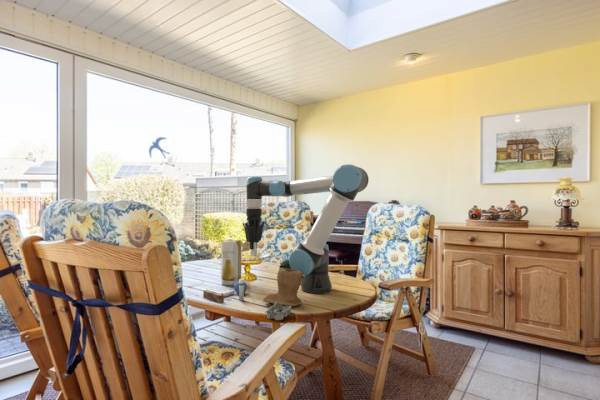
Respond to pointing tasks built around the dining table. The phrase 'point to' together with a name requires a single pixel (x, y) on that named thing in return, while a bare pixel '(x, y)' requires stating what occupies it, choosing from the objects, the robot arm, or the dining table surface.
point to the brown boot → (286, 288)
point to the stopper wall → (213, 296)
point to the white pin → (228, 293)
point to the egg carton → (278, 311)
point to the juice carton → (230, 261)
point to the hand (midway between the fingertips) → (253, 255)
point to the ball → (236, 287)
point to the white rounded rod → (241, 289)
